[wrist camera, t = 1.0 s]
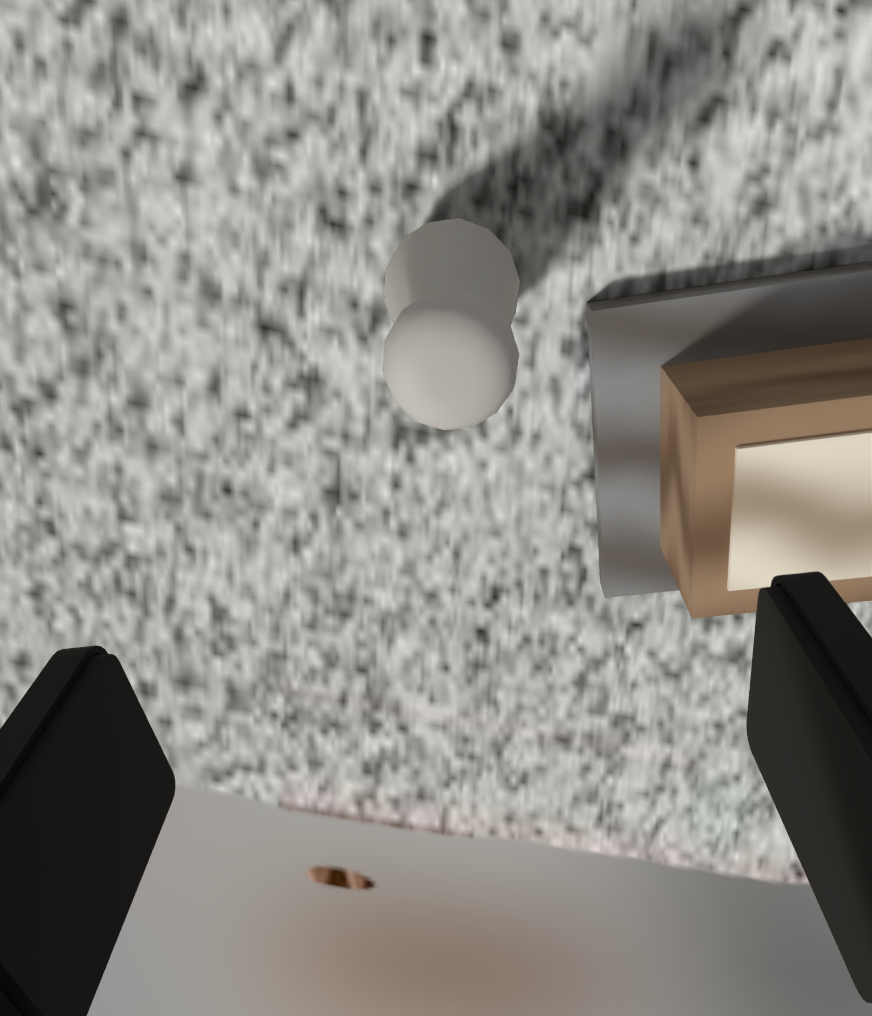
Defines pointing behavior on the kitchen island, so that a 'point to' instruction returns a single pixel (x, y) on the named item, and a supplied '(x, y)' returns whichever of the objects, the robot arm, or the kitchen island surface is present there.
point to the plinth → (679, 340)
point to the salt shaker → (451, 324)
